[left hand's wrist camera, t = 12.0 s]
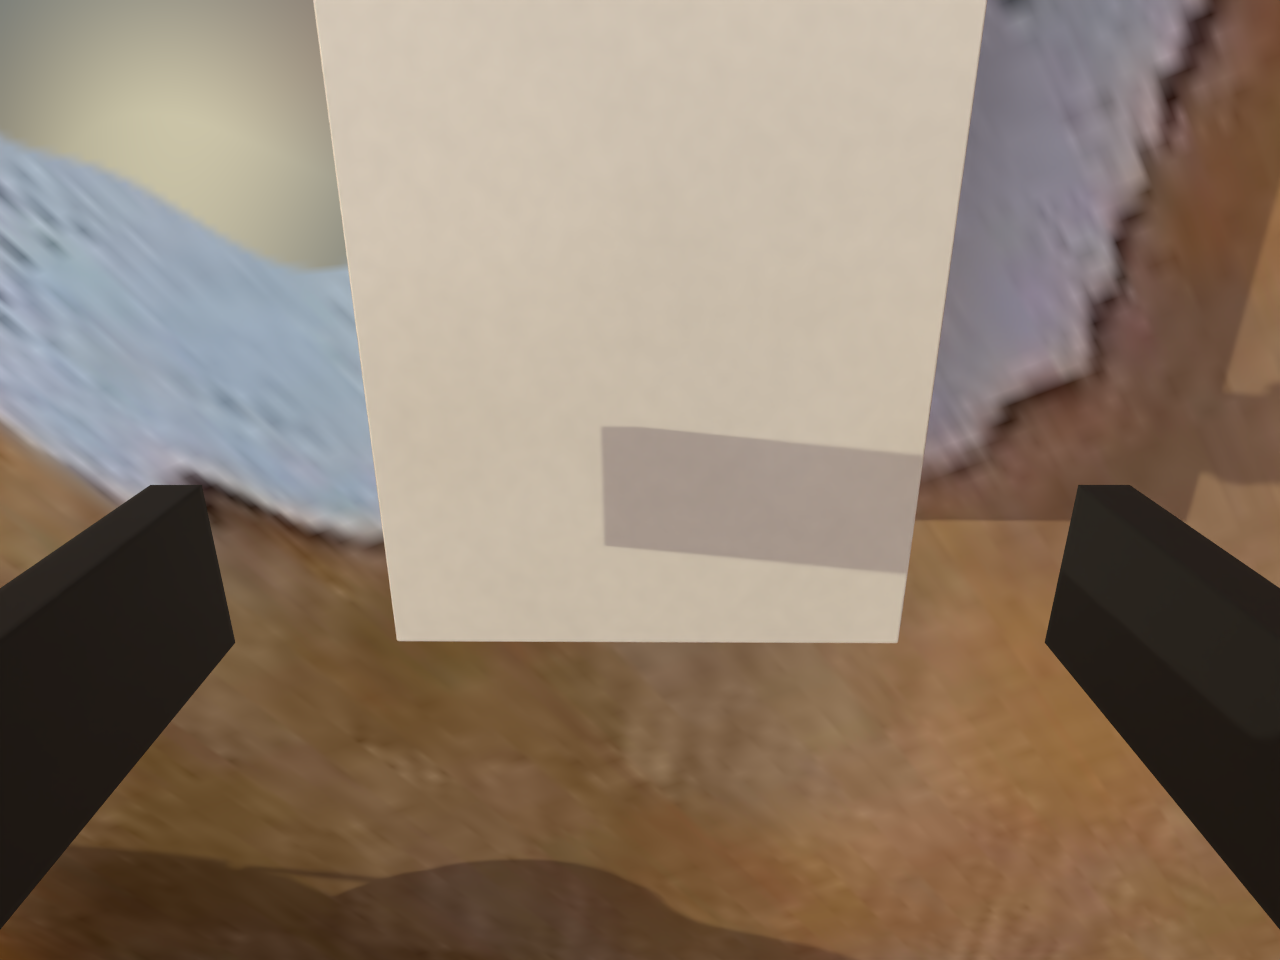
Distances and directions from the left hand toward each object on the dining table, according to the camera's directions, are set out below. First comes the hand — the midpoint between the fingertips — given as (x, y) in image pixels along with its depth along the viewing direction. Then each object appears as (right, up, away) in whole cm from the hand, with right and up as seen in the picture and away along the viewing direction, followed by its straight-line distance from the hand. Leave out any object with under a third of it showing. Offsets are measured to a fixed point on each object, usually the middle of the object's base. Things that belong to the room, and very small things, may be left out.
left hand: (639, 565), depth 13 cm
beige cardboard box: (0, +10, +11) cm, 15 cm away
